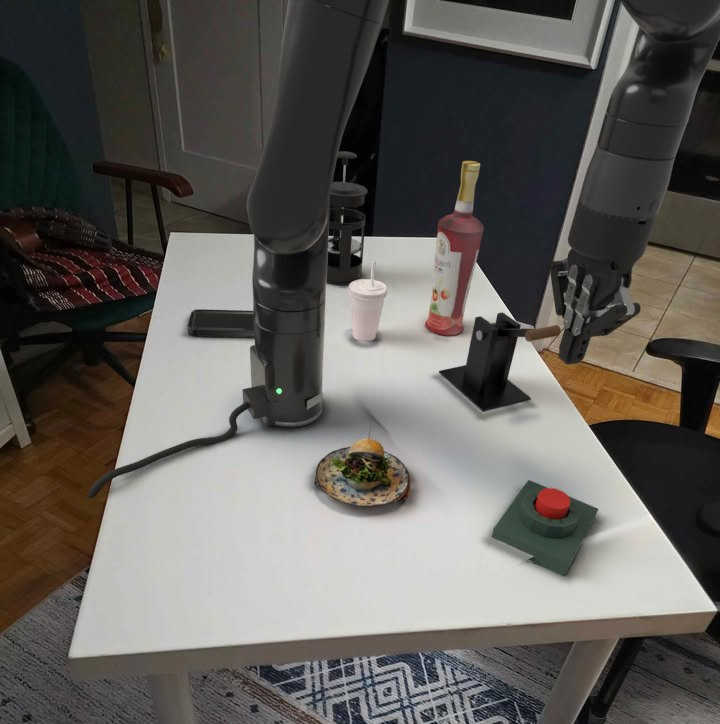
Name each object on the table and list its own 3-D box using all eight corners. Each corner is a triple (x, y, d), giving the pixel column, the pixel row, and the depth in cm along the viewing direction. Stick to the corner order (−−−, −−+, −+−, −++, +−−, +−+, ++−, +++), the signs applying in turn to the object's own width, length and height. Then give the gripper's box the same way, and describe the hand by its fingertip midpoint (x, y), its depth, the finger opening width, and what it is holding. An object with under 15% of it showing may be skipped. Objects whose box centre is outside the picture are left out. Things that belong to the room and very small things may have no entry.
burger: (296, 491, 79) (296, 442, 75) (346, 445, 87) (350, 398, 83) (380, 531, 75) (386, 481, 70) (425, 478, 83) (434, 431, 78)
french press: (313, 265, 135) (316, 144, 120) (357, 265, 137) (365, 146, 122) (320, 289, 126) (324, 161, 111) (367, 288, 128) (377, 163, 113)
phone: (192, 309, 113) (278, 311, 114) (192, 315, 114) (278, 317, 115) (186, 330, 107) (277, 331, 108) (187, 336, 108) (277, 338, 109)
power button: (560, 524, 73) (564, 513, 72) (530, 511, 74) (534, 500, 73) (570, 507, 75) (574, 496, 74) (541, 495, 77) (545, 483, 75)
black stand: (529, 404, 99) (549, 334, 91) (481, 416, 95) (498, 344, 88) (483, 367, 107) (498, 299, 99) (437, 377, 103) (449, 308, 96)
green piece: (564, 576, 72) (574, 551, 69) (489, 542, 75) (496, 516, 72) (593, 521, 79) (603, 497, 76) (524, 492, 82) (532, 468, 80)
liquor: (471, 337, 115) (505, 168, 97) (437, 344, 112) (465, 171, 94) (448, 320, 119) (476, 155, 101) (415, 326, 116) (438, 158, 99)
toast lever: (561, 339, 87) (560, 321, 86) (532, 345, 85) (531, 326, 84) (503, 337, 97) (502, 321, 96) (476, 343, 95) (475, 326, 94)
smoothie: (378, 352, 108) (387, 270, 99) (341, 346, 109) (346, 264, 100) (385, 335, 113) (393, 256, 104) (349, 329, 114) (354, 250, 105)
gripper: (548, 182, 66) (510, 337, 77) (632, 227, 56) (575, 396, 67) (608, 180, 68) (563, 331, 79) (698, 223, 59) (633, 386, 70)
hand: (569, 360), depth 73 cm, fingers closed
